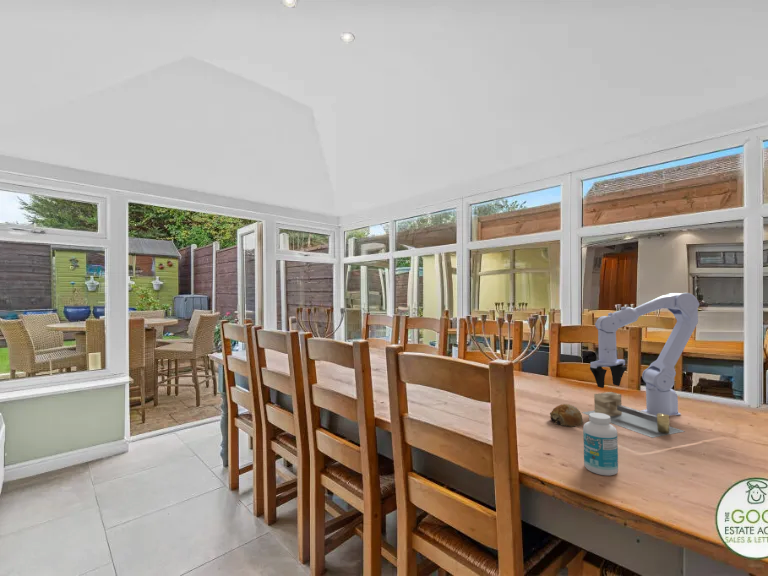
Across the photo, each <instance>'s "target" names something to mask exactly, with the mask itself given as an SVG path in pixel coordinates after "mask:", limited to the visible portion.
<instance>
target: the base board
mask: <svg viewBox="0 0 768 576" xmlns="http://www.w3.org/2000/svg"><path fill="white" fill-rule="evenodd" d="M580 413H581V414H584V415H587V416H589V414H590V413H595V409H594V410H589V411H583V412H581V411H580ZM610 419H611V422H610V423H609V424H611V425H614V426H618V427H621V428H624V429H627V430H629V431H632V432H635V433H637V434H641V435H643V436H645V437H649V438H651V439H654V438H658V437H663V436H664V437H665V436H669V435H674V434H678V433H679V434H680V433H683V432H684V433H685V432H686V431H685V430H683V429H679V428H676V427H673V426H670V425H669V430H670V432H669V433H662V432H659V431H658V430H657V422H653V421H650V420H647V419H644V418H641V417H637V416H634V415H631V414H628V413H625V412H622V415H615V416H610Z"/></svg>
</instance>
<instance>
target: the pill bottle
mask: <svg viewBox="0 0 768 576" xmlns="http://www.w3.org/2000/svg"><path fill="white" fill-rule="evenodd" d="M588 419H589V421H587V422H584V423H583V427H582V431H583V432H582V433H583V435H582V436H583V438H582V439H583V466H584V467H585V469H587V471H589V472H591V473H593V474H597V475H599V476H615V475H617V474H618V472H619V448H618V443H619V442H618V440H619V439H618V430H617V428H616V427H615V425H614V424H612V423H610V422H611V419H610V416H609V415H607V414H603V413H590V414H589V415H588Z"/></svg>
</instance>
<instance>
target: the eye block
mask: <svg viewBox="0 0 768 576" xmlns="http://www.w3.org/2000/svg"><path fill="white" fill-rule="evenodd" d="M593 396H594V397H593V398H594V403H593V404H594V410H595V413H603V414H607V415H609V416H615V415H622V412H621V411H618V410H617V405H622V394H620V393H617V392H613V391H608V392H601V393H600V392H598V393H594V395H593ZM622 406H623V405H622Z"/></svg>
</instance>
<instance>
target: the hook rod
mask: <svg viewBox="0 0 768 576" xmlns="http://www.w3.org/2000/svg"><path fill="white" fill-rule="evenodd" d="M617 410H618V411H621V412H625V413H628V414H631V415H634V416H637V417H641V418H644V419H647V420H650V421H653V422H657V430H658V431H659V432H662V433H669V432H670V430H669V426H670V416H669V415H667V414H663V413H658V414H657V415H654V414H650V413H647V412H643V411H644V410H643V411H641V410H638V409H636V408H632V407H629V406H626V405H617Z"/></svg>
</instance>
